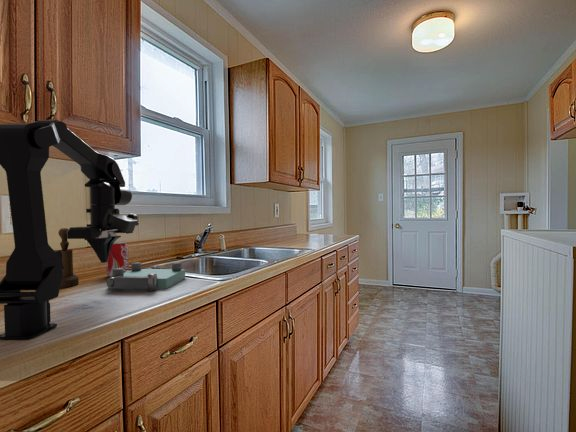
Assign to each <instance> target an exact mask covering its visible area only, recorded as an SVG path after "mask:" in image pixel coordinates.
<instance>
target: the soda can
mask: <svg viewBox="0 0 576 432" xmlns="http://www.w3.org/2000/svg"><path fill="white" fill-rule="evenodd" d="M129 261H130V259H129V246H128V244H127V241H115V242H114V243H113V245H112V248H111V251H110V254H109V257H108V260H107V262H105V267H106V275H107V276H108V277H109V278H110V277H113V276H112V269H115V268H124V273H125V272H128V271H130V269H129V268H130V262H129Z"/></svg>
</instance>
